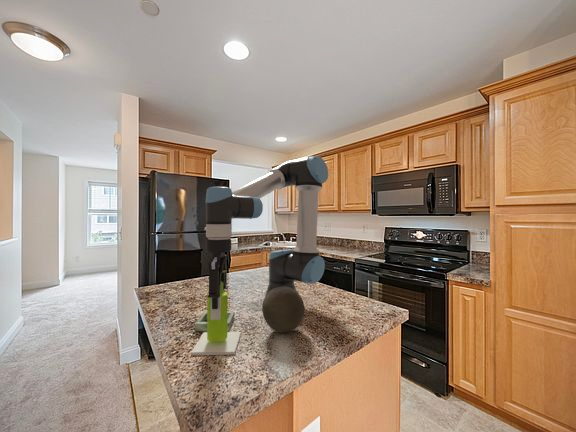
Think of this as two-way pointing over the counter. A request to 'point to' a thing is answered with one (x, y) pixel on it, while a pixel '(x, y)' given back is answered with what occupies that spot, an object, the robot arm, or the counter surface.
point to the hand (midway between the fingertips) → (218, 314)
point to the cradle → (202, 325)
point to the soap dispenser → (217, 327)
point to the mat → (217, 345)
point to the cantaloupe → (283, 309)
